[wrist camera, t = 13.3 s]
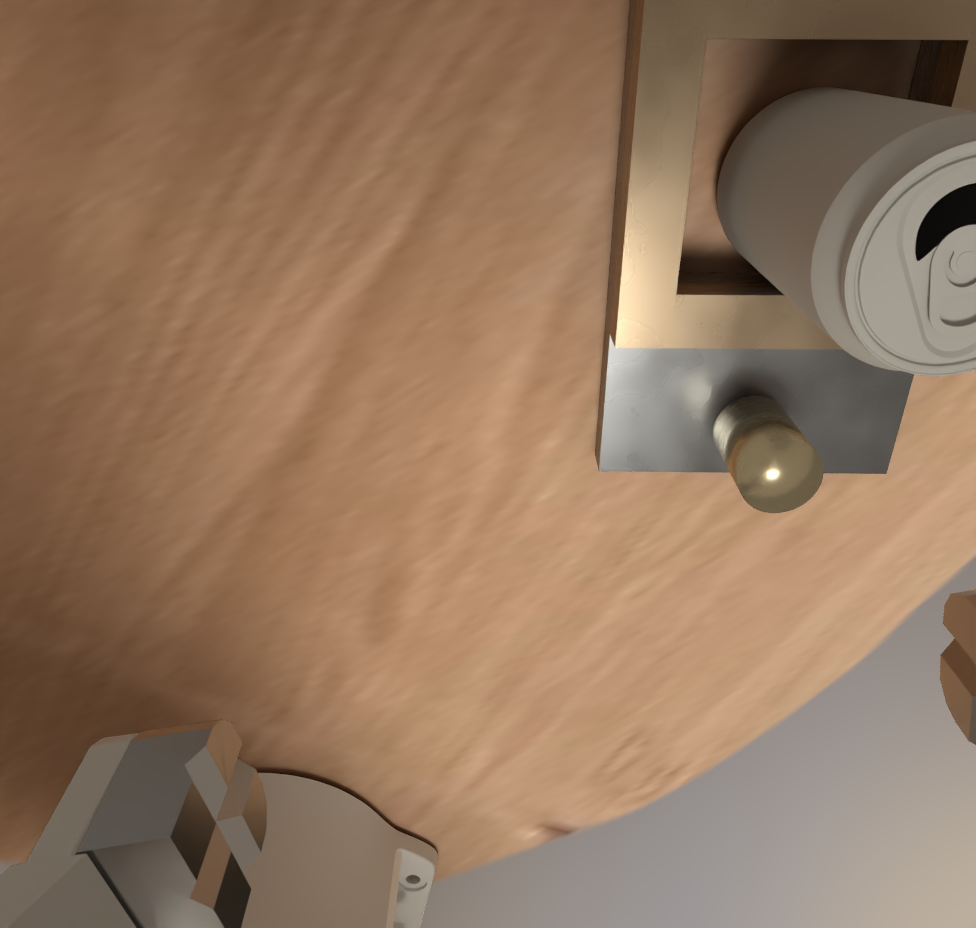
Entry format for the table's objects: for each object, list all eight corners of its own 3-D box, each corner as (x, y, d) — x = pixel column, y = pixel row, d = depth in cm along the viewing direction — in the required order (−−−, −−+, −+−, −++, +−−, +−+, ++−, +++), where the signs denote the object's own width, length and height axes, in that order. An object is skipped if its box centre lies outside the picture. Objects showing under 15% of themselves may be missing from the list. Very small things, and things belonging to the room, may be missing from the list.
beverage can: (893, 68, 27) (1141, 90, 17) (884, 252, 30) (1090, 368, 20) (706, 105, 28) (833, 148, 17) (716, 282, 31) (828, 410, 20)
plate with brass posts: (871, 456, 35) (952, 548, 28) (594, 454, 35) (616, 545, 28) (1064, -273, 23) (1269, -384, 17) (651, -273, 23) (706, -384, 17)
